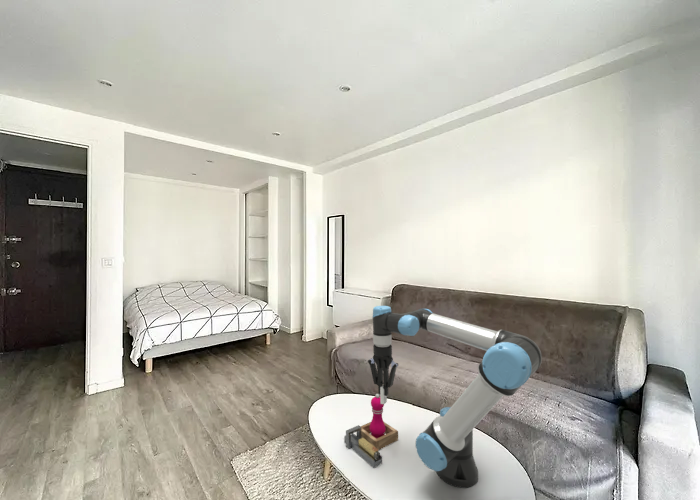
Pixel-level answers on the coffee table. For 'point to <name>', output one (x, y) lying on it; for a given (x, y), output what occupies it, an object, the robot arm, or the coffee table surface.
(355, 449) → the rail
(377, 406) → the pepper mill
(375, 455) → the pin
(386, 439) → the cradle
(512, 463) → the coffee table surface
